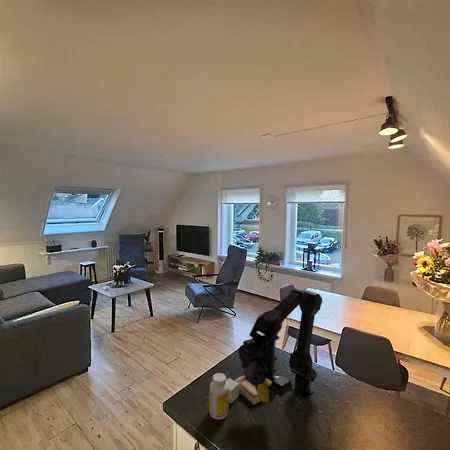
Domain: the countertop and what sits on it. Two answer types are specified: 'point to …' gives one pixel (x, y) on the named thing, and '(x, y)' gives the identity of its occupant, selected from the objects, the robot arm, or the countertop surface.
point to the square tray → (248, 390)
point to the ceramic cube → (232, 390)
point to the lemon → (263, 391)
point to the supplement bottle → (218, 397)
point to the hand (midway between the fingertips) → (264, 397)
